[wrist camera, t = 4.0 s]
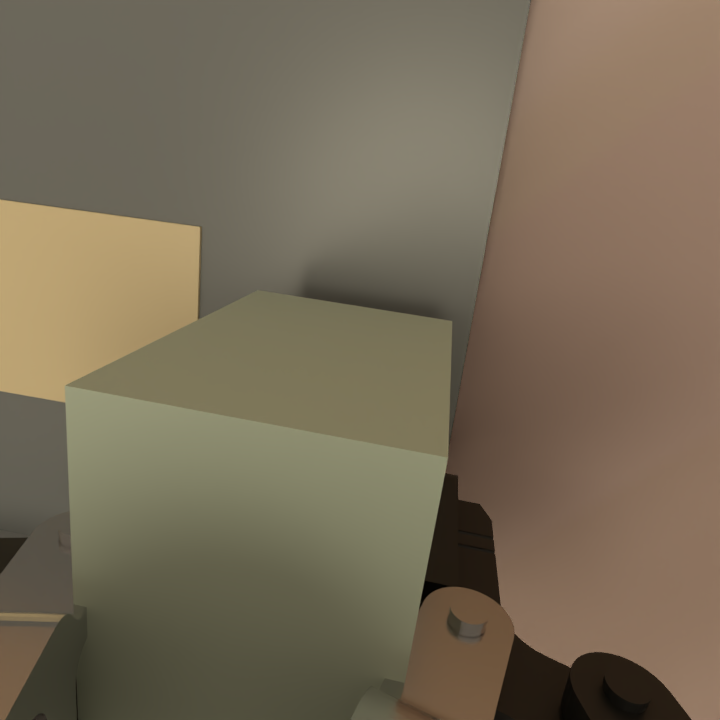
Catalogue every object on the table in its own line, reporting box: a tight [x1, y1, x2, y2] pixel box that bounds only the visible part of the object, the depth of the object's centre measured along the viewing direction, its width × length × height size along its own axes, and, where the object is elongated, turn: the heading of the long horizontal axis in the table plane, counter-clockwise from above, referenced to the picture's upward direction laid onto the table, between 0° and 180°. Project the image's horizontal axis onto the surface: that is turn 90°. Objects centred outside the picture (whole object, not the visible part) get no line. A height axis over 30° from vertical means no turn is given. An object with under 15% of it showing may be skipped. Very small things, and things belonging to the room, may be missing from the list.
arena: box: [0, 0, 531, 538], centre depth 12 cm, size 18×18×6 cm
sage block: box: [65, 290, 452, 720], centre depth 10 cm, size 4×8×6 cm, turn 173°
